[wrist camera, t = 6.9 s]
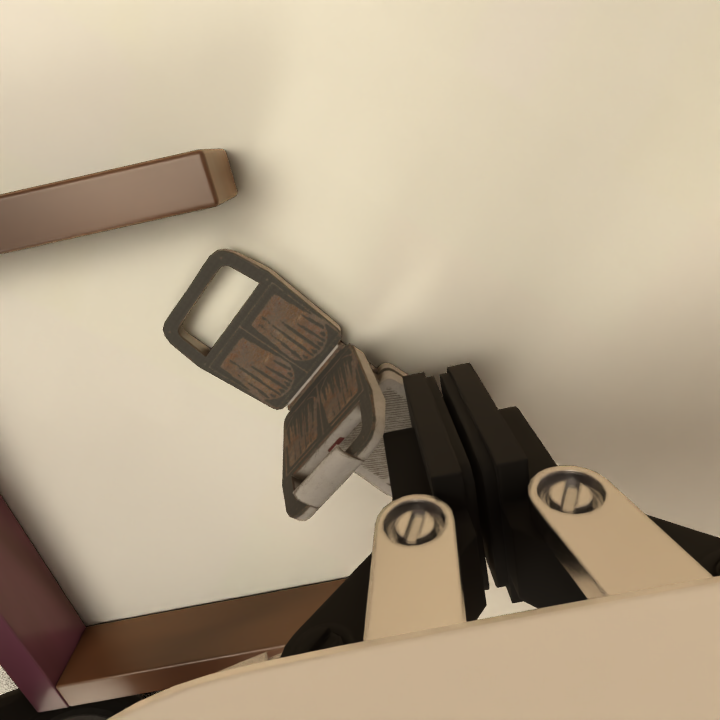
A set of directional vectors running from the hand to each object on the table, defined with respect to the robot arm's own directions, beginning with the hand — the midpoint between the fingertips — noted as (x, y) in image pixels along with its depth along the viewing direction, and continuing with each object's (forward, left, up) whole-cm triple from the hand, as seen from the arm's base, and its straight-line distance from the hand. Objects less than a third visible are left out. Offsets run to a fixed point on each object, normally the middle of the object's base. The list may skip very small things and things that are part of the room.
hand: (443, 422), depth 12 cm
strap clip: (+3, -1, -2) cm, 3 cm away
